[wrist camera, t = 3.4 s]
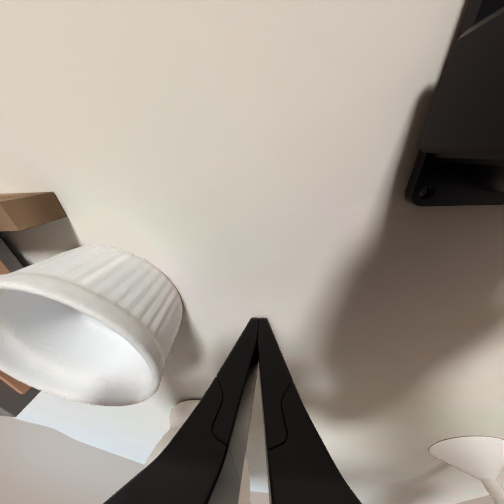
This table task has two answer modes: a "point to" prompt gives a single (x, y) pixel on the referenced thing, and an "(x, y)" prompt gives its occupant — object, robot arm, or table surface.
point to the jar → (176, 421)
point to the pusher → (3, 385)
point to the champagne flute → (475, 460)
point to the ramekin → (89, 325)
